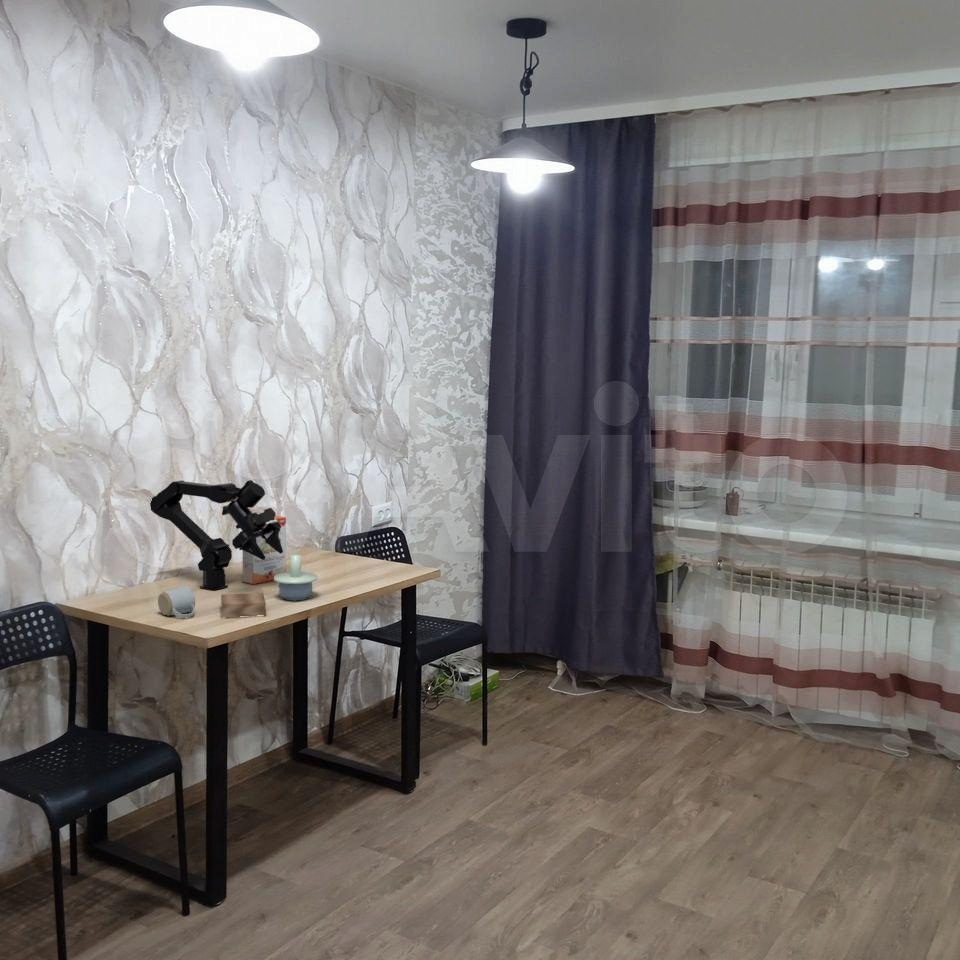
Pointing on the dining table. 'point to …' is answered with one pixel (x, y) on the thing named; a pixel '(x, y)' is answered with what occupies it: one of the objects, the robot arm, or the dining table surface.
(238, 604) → the walnut stand
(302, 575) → the lid
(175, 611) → the ceramic mug
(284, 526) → the cracker box
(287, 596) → the glazed bowl
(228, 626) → the dining table surface
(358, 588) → the dining table surface
